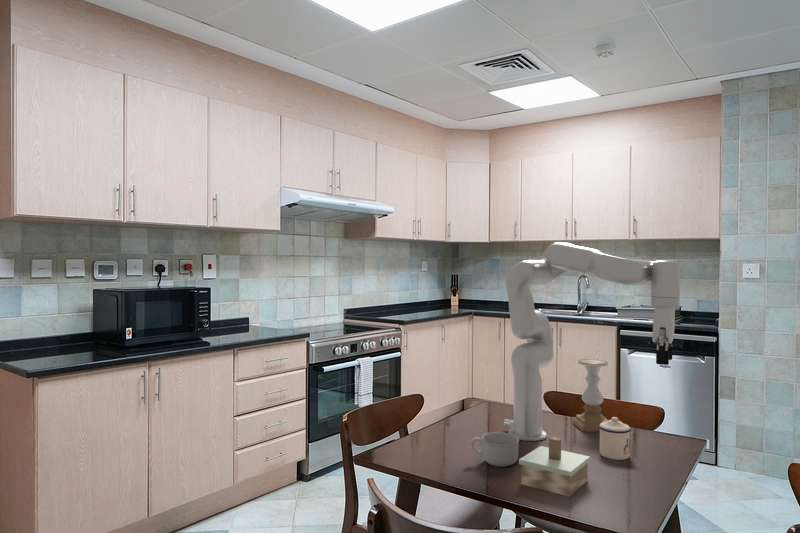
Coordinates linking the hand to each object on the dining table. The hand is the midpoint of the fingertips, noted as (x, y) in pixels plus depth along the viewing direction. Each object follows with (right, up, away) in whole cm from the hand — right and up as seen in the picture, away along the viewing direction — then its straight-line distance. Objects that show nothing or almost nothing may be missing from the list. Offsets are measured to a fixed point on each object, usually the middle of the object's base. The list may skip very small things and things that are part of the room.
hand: (664, 361), depth 162 cm
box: (-36, -31, -14) cm, 49 cm away
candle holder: (-7, -31, +39) cm, 50 cm away
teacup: (-49, -31, +2) cm, 58 cm away
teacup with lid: (-10, -31, +11) cm, 34 cm away
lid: (-36, -25, -14) cm, 45 cm away
